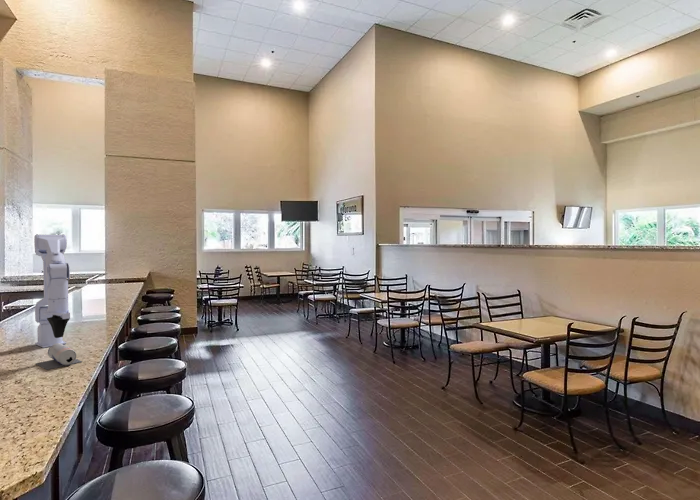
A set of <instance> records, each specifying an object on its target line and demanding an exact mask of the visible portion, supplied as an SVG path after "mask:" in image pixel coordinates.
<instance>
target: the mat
mask: <svg viewBox="0 0 700 500" xmlns="http://www.w3.org/2000/svg"><path fill="white" fill-rule="evenodd" d="M82 362H83V361H82V360H80V359H78V358H76V359H75V361H74V362H73V363H71V364H72V365H75V364H80V363H82ZM71 364H69V365H62V364H60V363H58V362H57V361H55V360H54V359H49V360H46V361H40V362H37V363H35V365H36V366H39V367H41V368H42V369H45V370H46V371H49V370H52V369H58V368H62V367H68V366H71Z"/></svg>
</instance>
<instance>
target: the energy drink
mask: <svg viewBox="0 0 700 500" xmlns="http://www.w3.org/2000/svg"><path fill="white" fill-rule="evenodd" d="M47 356H48V357H49V358H50V359H51V360H55V361H57V362H58V363H60V364H62V365H67V366H70V365H69V364H71V363H73V362H74V361H75V359H77V352H76V351H75V350H74V349H72V348H71V347H69V346H67V345H65V344H61V343H56V344H54V345H52V346H50V347H48V349H47Z"/></svg>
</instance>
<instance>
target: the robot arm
mask: <svg viewBox="0 0 700 500" xmlns="http://www.w3.org/2000/svg"><path fill="white" fill-rule="evenodd" d="M33 239H34V242H33V243H34V253H35V256H39V257H41V259H42V265H43V267H42V268H43V270H42V271H43V297H42V298H41V299H39V300H38V301H37V302H36V304H35V309H34V320H35V322H36V323H37V324H39V325H38V326H37V328H36V330H37V342H34V345H36V346H38V347H41V348H50V347H51V346H52V345H54V344H56V343H61V344H63V345H65V344H67V341H65V340H63V338H64V334H65V330H66V326H67V324H68V323H69V321H70V320H71V312H70V310H69V280H70V275H71V269H70V264H69V262H66V257H65V255H64V254H65V252H66V250H67V245H68V244H67V243H68V242H67V241H68V240H67V239H68V238H67V235H66V234H63V233H62V234H37V233H35V235H34V238H33Z"/></svg>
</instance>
